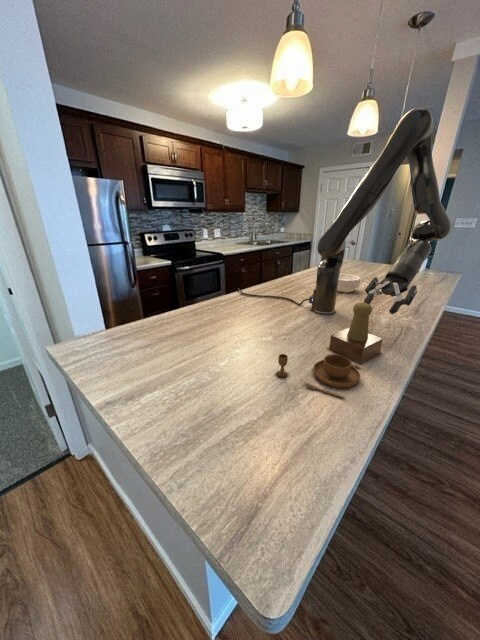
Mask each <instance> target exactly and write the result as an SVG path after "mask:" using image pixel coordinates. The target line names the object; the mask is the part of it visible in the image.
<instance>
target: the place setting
mask: <svg viewBox="0 0 480 640" xmlns="http://www.w3.org/2000/svg"><path fill="white" fill-rule="evenodd" d="M277 361H278V365H279V366H280V370H279V371H277V372H276V376H277V377H279V378H281V379H283V378H287V377H288V373H287V372H286V371H285V366H286V365H287V364H288V361H289V357H288V355H287V354H286V353H280V354H279V355H278V360H277ZM357 368H360V366H358V365H356V364H353V363H352V360H351V359H349V358H347V357H345V356H343V355H341V354H328V355H326V356H325V357H324V358H323V359H322V360H319V361H317V362H315V363H314V365H313V369H312V371H313V374H314V376H315V377H316V378H317V379H318V380H319V381H321V382H322V383H323V384H326V385H328V386H331V387H336V388H349V387H353V386H355V385H356V384H357V383H358V382H359V381H360V379H361V373H360V372H359V369H357ZM303 385H304V386H305V387H307V388H309V389H311V390H317V391H321V392H323V393H326V394H329V395H331V396H335V397H338V398H341V399H343V398H344V397H343V396H341V395H340V394H339V395H338V394H336V393H333V392H331V391H329V390H325V389H322V388H319V387H316V386H314V385H312V384H310V383H309V382H307V381H304V383H303Z"/></svg>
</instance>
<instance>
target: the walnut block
mask: <svg viewBox="0 0 480 640" xmlns="http://www.w3.org/2000/svg"><path fill="white" fill-rule="evenodd" d="M349 328H350V327H347V328H345V329H343V330H340V331H338V332H336V333H333V334H331V335H330V338H329V339H330V340H329V347H328V350H330V351H333V352H335V353H336V354H338V355H341V356H344V357H346V358H348V359H349V360H350V361H353V362H355V363H358V364H362V363H364V362H366V361H368V360H370V359H371V358H373V357H375V356H376V355H378V354H380V353H381V351H382V350H381V349H382V346H383V341H384V338H382V337H380V336H377V335H374V334H371V333H369V332H368V339H367V340H366V341H355V340H352V339H350V338H348V337H347V334H348V331H349Z"/></svg>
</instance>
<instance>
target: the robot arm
mask: <svg viewBox="0 0 480 640" xmlns="http://www.w3.org/2000/svg"><path fill="white" fill-rule="evenodd" d="M433 129H434V119H433V115H432V112H431V111H430V109H428V108H427V107H424V106H419V107H414V108H413V109H411V110H409V111H408V112H406V113H405V114H404V115H403V117H401V119H400V120H399V121H398V123H397V125H396V126H395V129H394V130H393V132H392V134H391V136H390V137H389V139H388V141H387V143H386V144H385V146H384V148H383V150H382V151H381V153H380V154H379V156H378V157H377V158H376V160H375V161H374V163H372V165H371V166H370V168H369V169H368V170H367V171H366V173H365V174H364V176H363V178H362V179H361V180H360V181H359V183H358V184H357V185H356V187H355V189H354V190H353V192H352V193H351V194H350V197H349V198H348V200H347V201H346V203H345V204H344V206H343V207H342V209H341V211H340V212H339V214H338V215H337V217H336V219H335V220H334V221H333V223H332V224H331V225H330V226H329V228H327V230H326V231H325V232H324V233H323V235H322V236H321V237H320V239H319V240H318V242H317V248H316V249H317V252H318V255H319V256H320V257H321V259H320V261H319V264H318V266H317V269H316V278H315V286H314V287H315V288H314V289H313V293H312V294H311V295H310V296H309V298H304V299H302V300H301V302H300V303H298V302H296V301H295V300H293V299H292V298H289V297H285V296H277V295H264V294H263V295H262V294H251V293H246V292H244V291H242V289H240V288H237V289H236V292H237V291H239V292H240V293H241V294H243V295H246V296H250V297H259V298H276V299H282V300H283V299H284V300H287V301H291V302H292V303H293V304H295V305H298V306H301V305H302V304H304V302H306V301H308V304H311V311H313V312H315V313H318V314H322V315H331V314H334V313H335V311H336V309H335V308H336V302H337V295H338V291H337V289H338V282H339V275H340V274H341V269H342V267H343V263H344V258H345V252H346V239H347V237H348V236H349V235H350V233H351V232H352V231H353V230H354V228H355V227H356V226H357V225H359V224H360V223H361V221H362V220H364V219H365V218H366V217H367V216H368V215H369V214H370V213H371V211H372V210H373V209H374V208H375V207H376V205H377V204H378V203H379V201H380V200H381V198H382V197H383V196H384V194H385V193H386V192H387V190H388V188H389V186H390V184H391V183H392V181H393V178H394V177H395V174H396V173H397V171H398V169H399V168H400V166H401V165H402V163H403V162H404V161H405V159H407V161H408V166H409V173H410V190H411V198H412V203H413V208H414V210H413V211H414V213H415V215H426V216H427V218H428V219H427V220H424V221H420V222H419V223H417V224H416V225H415V226H414V227H413V229H412V230H411V233H410V236H409V239H408V243H407V245H406V247H405V248H404V249H403V250H402V252H401V254H399V256H398V257H397V258H396V260H395V261H394V262H393V264H392V265H391V267H390V268H389V270H388V271H387V273H386V274H385V277H384V278H383V279H379V278H378V277H373V278H372V279H371V280H370V282H369V283H368V284H367V286H366V287H365V288H364V291H365V294H366V295H367V296H366V297H365V299H364V300H363V303H367V304H369V305H371V304H372V302H373V300H374V298H375V297H377V296H382V295H385V296H390V297H395V298H396V300H395V301H394V303H393V304H392V305H391V307H390V308H389V311H388V312H389V314H390V315H394V314H396V313H397V312H398V311H399V310H400V309H401V307H402V306H407V307H408V306H410V305H411V304H412V302H413V301H414V299H415V297H416V295H417V293H418V287H417V285H415V284H413V285H412V286H411V283H412V282H413V281H414V279H415V277H416V276H417V274H418V273H419V272H420V270H421V269H422V266H423V264H424V263H425V261H426V260H427V258H428V257H429V255H430V254H431V251H432V245H431V243H430V242H435V241H439V240H440V241H441V240H443V239H445V238H447V237H448V236H449V235H450V233H451V230H452V221H451V219H450V217H449V215H448V213H447V211H446V209H445V207H444V205H443V204H442V202H441V194H440V188H439V183H438V178H437V174H436V170H435V165H434V159H433V147H432V142H433ZM405 292H408V293H407V294H406V296H405V298H403V297H402V294H403V293H405Z"/></svg>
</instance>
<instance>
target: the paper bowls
mask: <svg viewBox="0 0 480 640" xmlns="http://www.w3.org/2000/svg"><path fill="white" fill-rule="evenodd" d="M360 285H361V277H360V276H358V275H356V274H355V275H354V274H349V273H340V275H339V282H338V289H337V292H339V293H352V292H354V291H355V290H356V289H358V288H359V287H360Z"/></svg>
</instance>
